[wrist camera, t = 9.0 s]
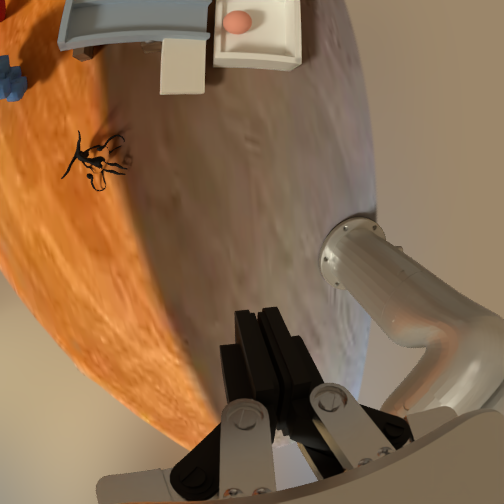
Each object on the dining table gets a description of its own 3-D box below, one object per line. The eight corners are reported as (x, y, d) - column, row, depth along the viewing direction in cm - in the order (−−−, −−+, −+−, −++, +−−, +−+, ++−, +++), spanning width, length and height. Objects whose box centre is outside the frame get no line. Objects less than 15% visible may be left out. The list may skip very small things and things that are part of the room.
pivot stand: (167, 6, 23) (164, -9, 19) (163, 51, 26) (159, 39, 22) (149, 8, 23) (144, -7, 18) (145, 53, 26) (138, 42, 21)
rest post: (95, 28, 22) (88, 21, 19) (92, 58, 24) (83, 53, 21) (85, 31, 22) (77, 24, 19) (81, 61, 24) (72, 56, 21)
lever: (203, 6, 23) (214, -5, 20) (200, 94, 28) (211, 89, 26) (68, 10, 15) (66, -3, 12) (56, 108, 20) (51, 104, 18)
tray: (288, 1, 25) (299, -12, 21) (289, 71, 30) (301, 64, 26) (216, -6, 23) (218, -20, 19) (212, 67, 28) (215, 58, 24)
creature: (139, 141, 31) (87, 121, 27) (139, 146, 27) (78, 123, 23) (116, 195, 34) (66, 177, 29) (113, 208, 29) (55, 187, 25)
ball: (258, 10, 23) (234, 3, 21) (257, 32, 25) (233, 26, 23) (240, 18, 26) (217, 13, 24) (240, 39, 27) (216, 35, 25)
